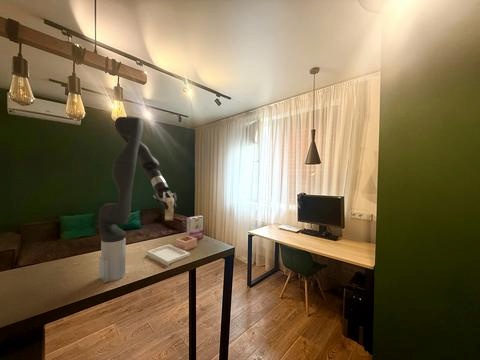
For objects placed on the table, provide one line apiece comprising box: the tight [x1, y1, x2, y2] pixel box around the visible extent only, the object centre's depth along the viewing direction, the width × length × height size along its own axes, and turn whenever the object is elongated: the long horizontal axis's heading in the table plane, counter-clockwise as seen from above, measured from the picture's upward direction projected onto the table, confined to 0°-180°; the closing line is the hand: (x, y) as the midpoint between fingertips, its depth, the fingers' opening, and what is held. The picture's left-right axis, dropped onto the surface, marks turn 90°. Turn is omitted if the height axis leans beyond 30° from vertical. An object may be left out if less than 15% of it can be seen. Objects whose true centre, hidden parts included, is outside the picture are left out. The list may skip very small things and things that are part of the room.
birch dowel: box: [164, 198, 174, 221], centre depth 110 cm, size 4×4×12 cm
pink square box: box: [174, 234, 198, 252], centre depth 123 cm, size 9×9×6 cm
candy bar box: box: [186, 215, 204, 240], centre depth 139 cm, size 11×5×16 cm, turn 132°
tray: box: [146, 244, 191, 267], centre depth 111 cm, size 14×20×2 cm
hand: (171, 208), depth 109 cm, fingers closed on birch dowel, 4 cm apart
